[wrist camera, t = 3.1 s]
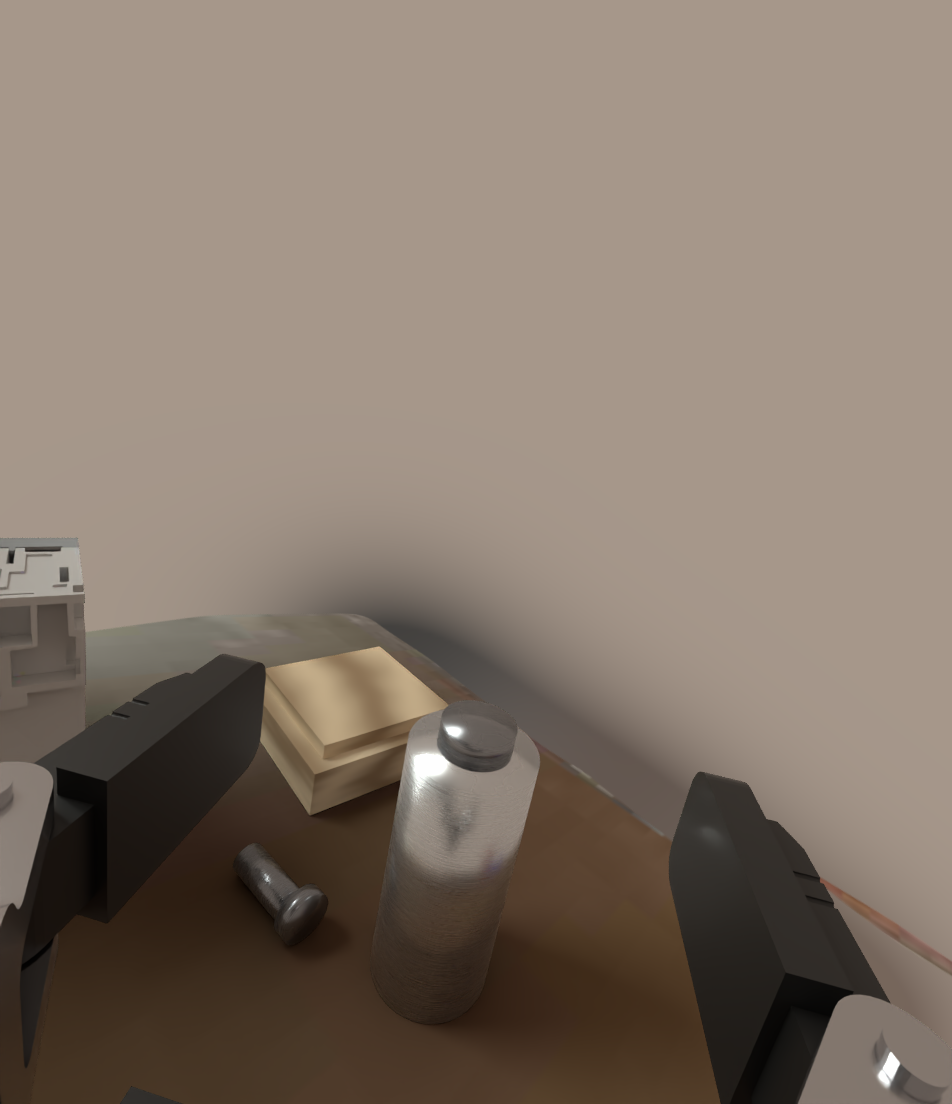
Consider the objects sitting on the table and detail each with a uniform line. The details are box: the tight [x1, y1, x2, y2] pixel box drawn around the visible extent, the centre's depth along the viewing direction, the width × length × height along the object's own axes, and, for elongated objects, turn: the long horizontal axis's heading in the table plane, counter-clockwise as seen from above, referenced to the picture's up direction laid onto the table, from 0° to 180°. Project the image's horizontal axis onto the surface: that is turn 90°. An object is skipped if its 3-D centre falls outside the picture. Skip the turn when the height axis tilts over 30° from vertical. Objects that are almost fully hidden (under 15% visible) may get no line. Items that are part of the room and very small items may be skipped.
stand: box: [260, 647, 449, 815], centre depth 41 cm, size 12×12×4 cm
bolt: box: [233, 843, 328, 945], centre depth 27 cm, size 5×2×2 cm, turn 52°
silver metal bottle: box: [370, 700, 540, 1024], centre depth 24 cm, size 6×6×13 cm
